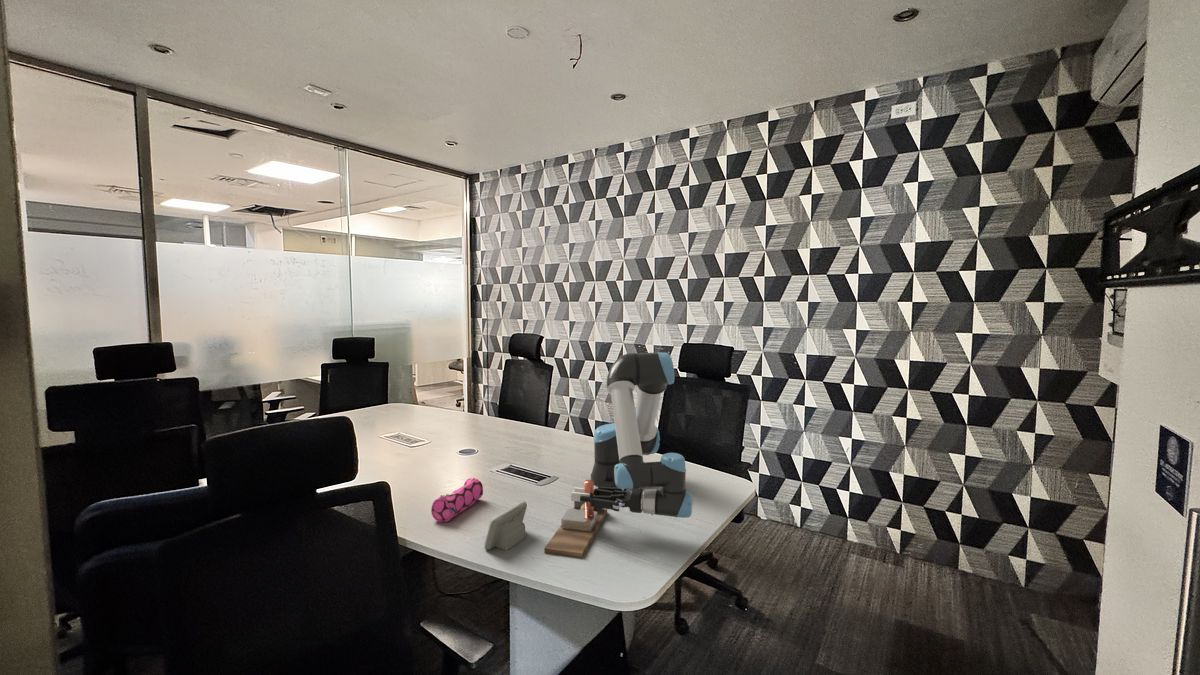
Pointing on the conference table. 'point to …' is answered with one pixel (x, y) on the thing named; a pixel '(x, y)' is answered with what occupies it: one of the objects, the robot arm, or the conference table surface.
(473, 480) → the pencil case
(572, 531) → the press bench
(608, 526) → the conference table surface
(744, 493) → the conference table surface
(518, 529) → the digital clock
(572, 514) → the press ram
